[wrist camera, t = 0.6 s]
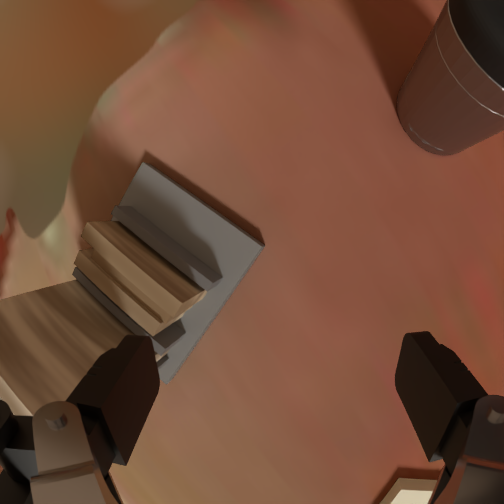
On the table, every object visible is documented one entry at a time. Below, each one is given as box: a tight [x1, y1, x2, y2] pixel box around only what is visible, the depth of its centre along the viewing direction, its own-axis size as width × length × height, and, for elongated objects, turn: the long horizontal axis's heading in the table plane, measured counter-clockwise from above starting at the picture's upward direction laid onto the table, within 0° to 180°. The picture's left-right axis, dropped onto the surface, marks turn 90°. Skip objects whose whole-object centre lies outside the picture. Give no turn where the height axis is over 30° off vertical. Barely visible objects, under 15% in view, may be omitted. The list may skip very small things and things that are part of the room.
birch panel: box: [0, 280, 170, 416], centre depth 26 cm, size 2×12×20 cm, turn 56°
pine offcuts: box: [74, 221, 207, 336], centre depth 31 cm, size 5×12×7 cm, turn 56°
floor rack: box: [72, 162, 265, 384], centre depth 33 cm, size 20×16×6 cm
